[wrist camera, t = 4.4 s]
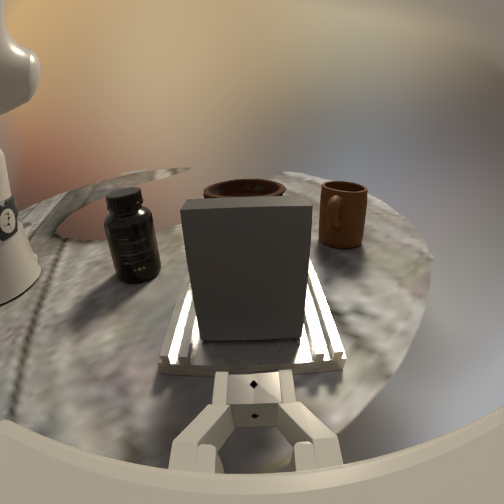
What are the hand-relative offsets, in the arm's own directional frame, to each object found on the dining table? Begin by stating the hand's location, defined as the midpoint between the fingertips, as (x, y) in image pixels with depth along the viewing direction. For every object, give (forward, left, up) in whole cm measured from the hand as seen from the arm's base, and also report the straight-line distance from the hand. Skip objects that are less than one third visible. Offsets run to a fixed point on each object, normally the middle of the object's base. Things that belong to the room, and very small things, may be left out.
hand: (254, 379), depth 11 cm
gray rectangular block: (0, +14, -8) cm, 17 cm away
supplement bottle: (-16, +26, -10) cm, 33 cm away
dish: (-1, +54, -11) cm, 55 cm away
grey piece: (0, +17, -10) cm, 20 cm away
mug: (+14, +33, -11) cm, 38 cm away
